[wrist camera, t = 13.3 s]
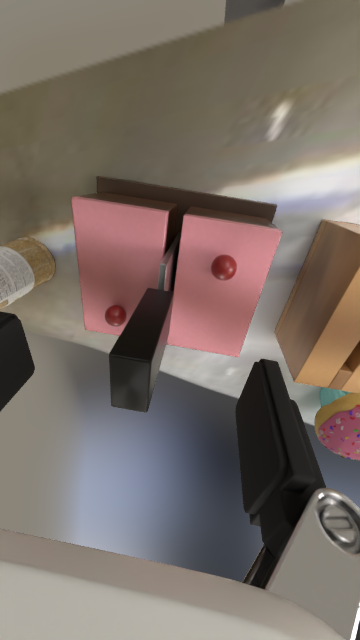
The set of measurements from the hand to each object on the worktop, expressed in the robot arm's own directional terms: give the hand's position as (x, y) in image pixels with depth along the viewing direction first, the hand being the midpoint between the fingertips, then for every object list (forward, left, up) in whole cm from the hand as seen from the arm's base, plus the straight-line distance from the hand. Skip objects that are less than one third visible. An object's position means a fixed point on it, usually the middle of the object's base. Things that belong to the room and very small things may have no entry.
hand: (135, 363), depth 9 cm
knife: (+1, 0, -13) cm, 13 cm away
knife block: (0, +14, -14) cm, 20 cm away
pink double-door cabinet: (0, 0, -14) cm, 14 cm away
